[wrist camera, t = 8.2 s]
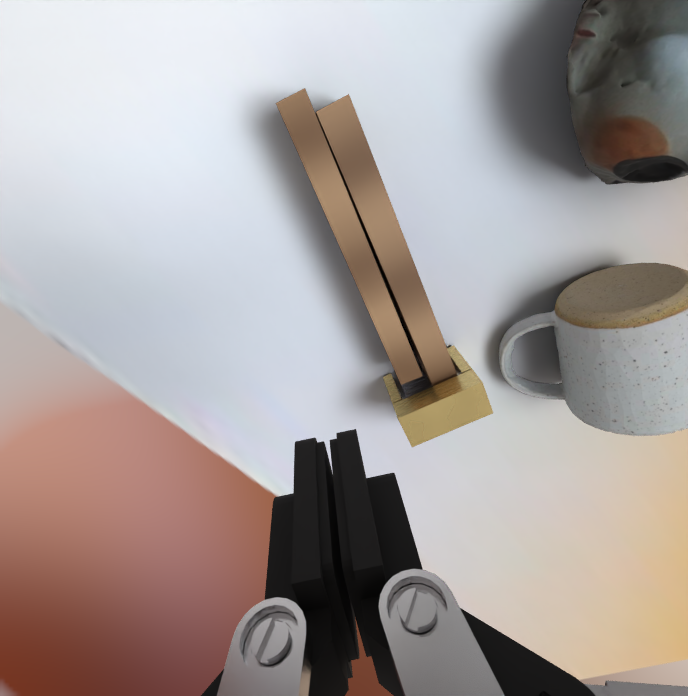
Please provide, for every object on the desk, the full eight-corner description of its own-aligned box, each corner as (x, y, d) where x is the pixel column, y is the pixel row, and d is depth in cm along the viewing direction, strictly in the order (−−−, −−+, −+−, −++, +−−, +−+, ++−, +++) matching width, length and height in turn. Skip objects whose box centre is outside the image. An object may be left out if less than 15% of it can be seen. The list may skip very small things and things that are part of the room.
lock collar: (382, 376, 28) (397, 418, 23) (453, 345, 27) (482, 382, 23) (395, 402, 29) (412, 447, 24) (463, 373, 28) (493, 412, 24)
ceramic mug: (638, 243, 25) (760, 278, 18) (647, 348, 29) (753, 410, 22) (478, 311, 27) (537, 368, 20) (506, 404, 30) (564, 479, 23)
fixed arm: (314, 117, 21) (315, 111, 18) (342, 102, 20) (348, 94, 18) (429, 383, 28) (443, 409, 26) (450, 374, 28) (466, 399, 25)
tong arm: (279, 109, 20) (275, 103, 17) (304, 96, 20) (304, 88, 17) (391, 362, 27) (401, 385, 24) (410, 353, 27) (422, 376, 24)
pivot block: (398, 378, 28) (409, 403, 25) (440, 359, 28) (456, 382, 25) (412, 409, 29) (424, 437, 26) (453, 391, 29) (470, 418, 26)
